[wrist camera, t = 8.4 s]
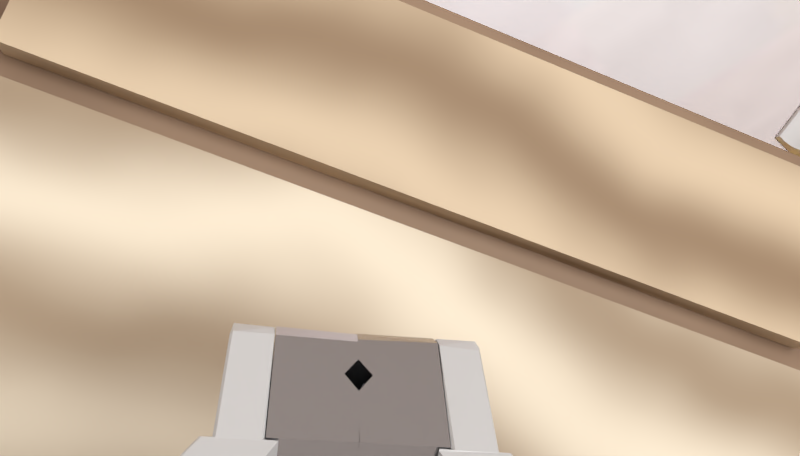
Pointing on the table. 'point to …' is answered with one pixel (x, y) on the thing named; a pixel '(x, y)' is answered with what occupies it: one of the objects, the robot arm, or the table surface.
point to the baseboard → (791, 134)
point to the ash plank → (308, 308)
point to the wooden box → (451, 142)
